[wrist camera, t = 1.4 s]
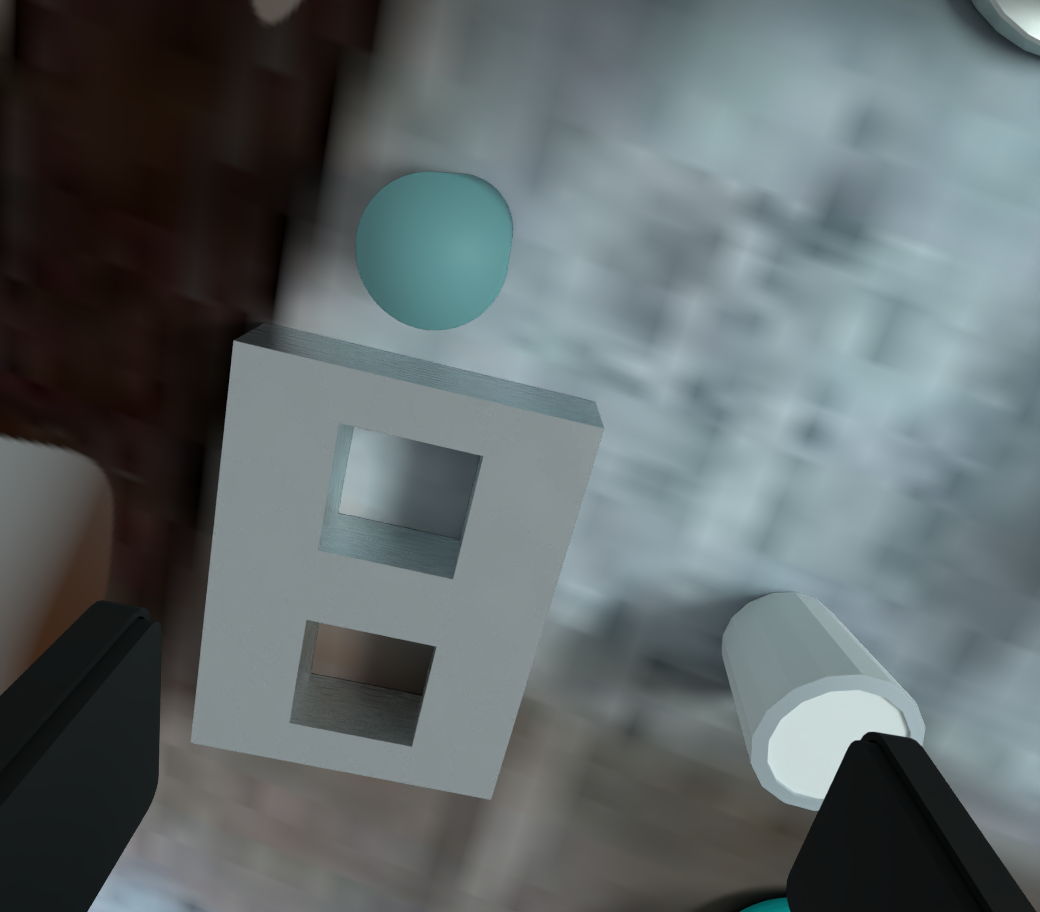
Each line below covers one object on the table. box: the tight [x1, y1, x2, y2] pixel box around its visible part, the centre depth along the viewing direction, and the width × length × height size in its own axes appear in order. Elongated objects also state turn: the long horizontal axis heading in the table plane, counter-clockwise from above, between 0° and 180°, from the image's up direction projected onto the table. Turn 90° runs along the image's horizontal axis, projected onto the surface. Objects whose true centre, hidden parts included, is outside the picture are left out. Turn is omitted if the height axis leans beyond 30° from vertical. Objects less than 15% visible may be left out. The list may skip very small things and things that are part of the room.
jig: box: [191, 323, 604, 800], centre depth 32 cm, size 19×14×4 cm
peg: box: [355, 172, 513, 330], centre depth 24 cm, size 4×4×10 cm
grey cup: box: [722, 592, 925, 811], centre depth 32 cm, size 7×7×7 cm
